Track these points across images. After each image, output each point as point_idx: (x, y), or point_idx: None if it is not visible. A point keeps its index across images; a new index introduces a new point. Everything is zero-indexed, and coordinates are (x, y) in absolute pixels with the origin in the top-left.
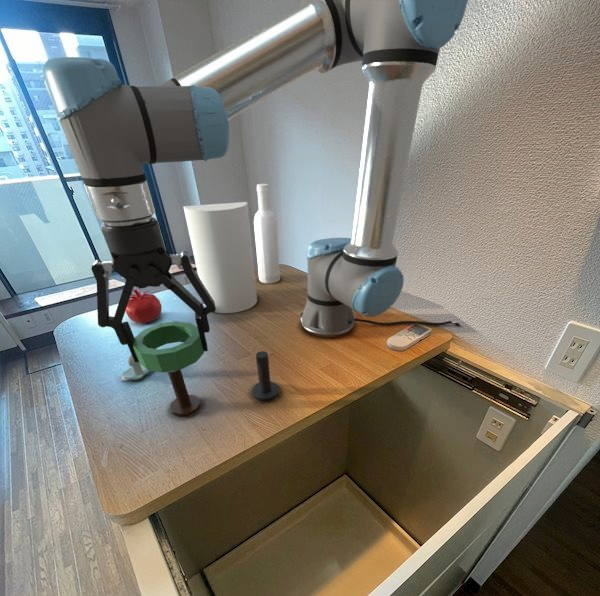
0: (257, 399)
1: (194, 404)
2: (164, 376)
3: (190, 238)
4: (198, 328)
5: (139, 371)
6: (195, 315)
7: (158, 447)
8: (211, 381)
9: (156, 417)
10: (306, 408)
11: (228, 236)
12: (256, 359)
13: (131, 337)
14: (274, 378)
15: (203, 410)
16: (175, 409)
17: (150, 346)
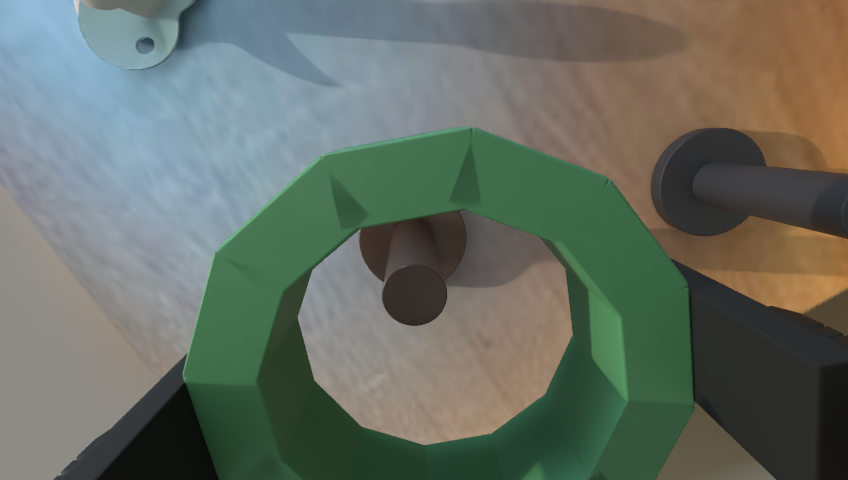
0: (670, 224)
1: (448, 245)
2: (275, 17)
3: None
4: (743, 440)
5: (154, 3)
6: (821, 442)
7: (363, 399)
8: (490, 80)
9: (319, 276)
10: (822, 277)
11: None
12: (821, 217)
13: (185, 473)
14: (750, 88)
15: (476, 255)
16: (384, 266)
17: (294, 307)
